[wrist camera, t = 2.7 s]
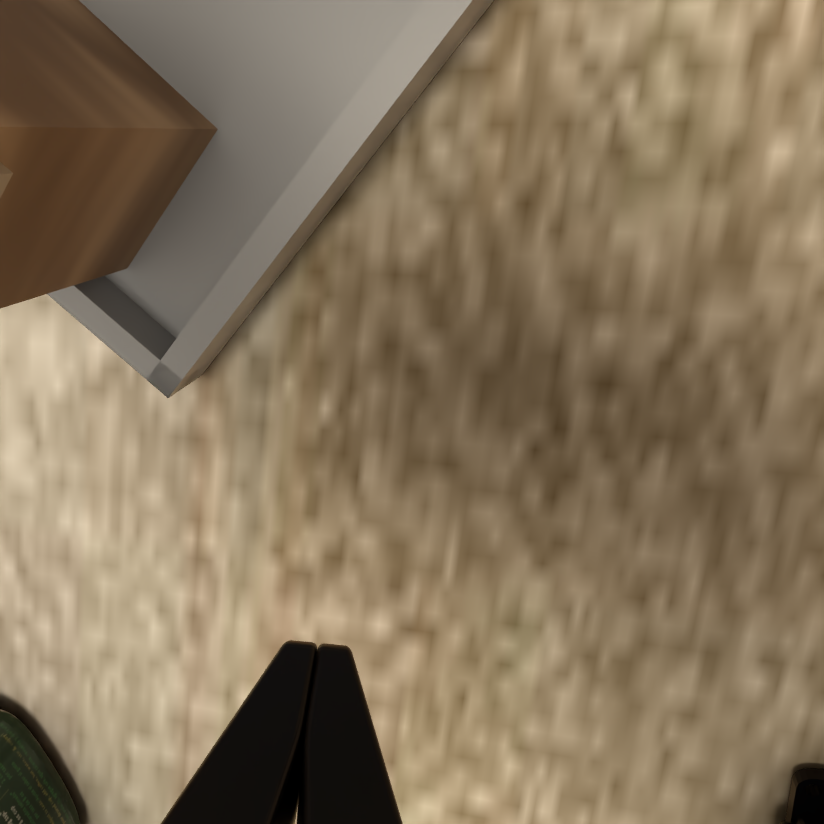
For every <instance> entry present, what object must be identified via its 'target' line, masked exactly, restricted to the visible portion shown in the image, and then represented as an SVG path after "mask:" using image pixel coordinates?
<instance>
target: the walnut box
mask: <svg viewBox="0 0 824 824" xmlns="http://www.w3.org/2000/svg"><path fill="white" fill-rule="evenodd" d="M217 130H218V129H217V128H216V127H215V126H214V125H213V124H212V123H211V122H210V121H209V120H207V119H206V118H205V117H204V116H203V115H202V114H201V113H200V112H199V111H198V110H197V109H196V108H195V107H193V106H192V105H191V104H190V103H189V102H188V101H187V100H186V99H185V98H184V97H183V96H182V95H180V94H179V93H178V92H177V91H176V90H175V89H174V88H173V87H172V86H171V85H170V84H169V83H168V82H166V81H165V80H164V79H163V78H162V77H161V76H160V75H159V74H158V73H157V72H156V71H155V70H154V69H152V68H151V67H150V66H149V65H148V64H147V63H146V62H145V61H144V60H143V59H142V58H141V57H140V56H138V55H137V54H136V53H135V52H134V51H133V50H132V49H131V48H130V47H129V46H128V45H127V44H125V43H124V42H123V41H122V40H121V39H120V38H119V37H118V36H117V35H116V34H115V33H114V32H113V31H111V30H110V29H109V28H108V27H107V26H106V25H105V24H104V23H103V22H102V21H101V20H100V19H99V18H97V17H96V16H95V15H94V14H93V13H92V12H91V11H90V10H89V9H88V8H87V7H86V6H85V5H83V4H82V3H81V2H80V1H79V0H0V308H3V307H6V306H9V305H13V304H16V303H19V302H22V301H25V300H29V299H32V298H35V297H38V296H41V295H45V294H48V293H51V292H54V291H57V290H60V289H64V288H67V287H70V286H73V285H76V284H80V283H83V282H86V281H89V280H92V279H96V278H99V277H102V276H105V275H108V274H112V273H115V272H118V271H121V270H124V269H127V268H128V266H129V265H130V263H131V262H132V260H133V259H134V257H135V256H136V254H137V253H138V251H139V250H140V248H141V247H142V245H143V243H144V242H145V240H146V239H147V237H148V236H149V234H150V233H151V231H152V230H153V228H154V227H155V225H156V223H157V222H158V220H159V219H160V217H161V216H162V214H163V213H164V211H165V210H166V208H167V207H168V205H169V203H170V202H171V200H172V199H173V197H174V196H175V194H176V193H177V191H178V190H179V188H180V187H181V185H182V184H183V182H184V180H185V179H186V177H187V176H188V174H189V173H190V171H191V170H192V168H193V167H194V165H195V164H196V162H197V160H198V159H199V157H200V156H201V154H202V153H203V151H204V150H205V148H206V147H207V145H208V144H209V142H210V140H211V139H212V137H213V136H214V134H215V133H216V131H217Z"/></svg>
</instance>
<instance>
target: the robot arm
mask: <svg viewBox="0 0 824 824" xmlns="http://www.w3.org/2000/svg"><path fill="white" fill-rule="evenodd" d="M812 784H814V785H812ZM297 807H298V813H297ZM296 813H297V824H402V820H401V817H400V813H399V810H398V807H397V803H396V800H395V797H394V793H393V790H392V786H391V783H390V780H389V776H388V773H387V769H386V766H385V763H384V759H383V756H382V753H381V749H380V746H379V742H378V739H377V736H376V732H375V729H374V726H373V722H372V719H371V715H370V712H369V709H368V705H367V702H366V698H365V695H364V692H363V688H362V685H361V682H360V678H359V675H358V671H357V668H356V665H355V661H354V658H353V654H352V652H351V650H350V648H349V647H347V646H344V645H334V644H321V645H320V646H319V647H318V650H317V646H316V644H315V643H312V642H303V641H293V640H290V641H287V642H285V643H284V644H283V645H282V647H281V648H280V649H279V651H278V652H277V654H276V655H275V657H274V658H273V660H272V661H271V663H270V664H269V666H268V667H267V669H266V670H265V671H264V673H263V674H262V676H261V677H260V679H259V680H258V682H257V683H256V685H255V686H254V688H253V689H252V691H251V692H250V694H249V695H248V696H247V698H246V699H245V701H244V702H243V704H242V705H241V707H240V708H239V710H238V711H237V713H236V714H235V716H234V717H233V718H232V720H231V721H230V723H229V724H228V726H227V727H226V729H225V730H224V732H223V733H222V735H221V736H220V738H219V739H218V740H217V742H216V743H215V745H214V746H213V748H212V749H211V751H210V752H209V754H208V755H207V757H206V758H205V760H204V761H203V763H202V764H201V765H200V767H199V768H198V770H197V771H196V773H195V774H194V776H193V777H192V779H191V780H190V782H189V783H188V785H187V786H186V787H185V789H184V790H183V792H182V793H181V795H180V796H179V798H178V799H177V801H176V802H175V804H174V805H173V807H172V808H171V809H170V811H169V812H168V814H167V815H166V817H165V818H164V820H163V821H162V823H161V824H295V819H296ZM780 824H824V770H823V769H813V768H805V769H801V770H798V771H797V772H796V773H795V774H794V775H793V778H792V783H791V789H790V795H789V801H788V807H787V813H786V819H785V822H784V821H782V822H781V823H780Z"/></svg>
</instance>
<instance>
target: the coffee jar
mask: <svg viewBox="0 0 824 824" xmlns="http://www.w3.org/2000/svg"><path fill="white" fill-rule="evenodd" d="M0 824H80V822H79V817H78V813H77V810H76V808H75V805H74V803H73V801H72V799H71V797H70V794H69V792H68V790H67V789H66V786H65V784H64V783H63V781H62V779H61V777H60V776H59V774H58V773H57V771H56V769H55V768H54V766H53V764H52V763H51V761H50V760H49V758H48V756H47V755H46V753H45V752H44V750H43V749H42V747H41V746H40V745H39V743H38V742H37V740H36V739H35V738H34V737H33V735H32V734H31V732H30V731H29V730H28V729H27V727H26V726H25V725H24V724H23V723H22V722H21V721H20V720H19V719H18V718H17V717H15V716H14V715H12V714H11V713H9V712H7V711H4V710H1V709H0Z"/></svg>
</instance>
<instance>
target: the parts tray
mask: <svg viewBox="0 0 824 824" xmlns="http://www.w3.org/2000/svg"><path fill="white" fill-rule="evenodd" d="M79 1H80V2H81V3H82V4H83V5H85V6H86V7H87V8H88V9H89V10H90V11H91V12H92V13H93V14H94V15H95V16H96V17H97V18H99V19H100V20H101V21H102V22H103V23H104V24H105V25H106V26H107V27H108V28H109V29H110V30H111V31H113V32H114V33H115V34H116V35H117V36H118V37H119V38H120V39H121V40H122V41H123V42H124V43H125V44H127V45H128V46H129V47H130V48H131V49H132V50H133V51H134V52H135V53H136V54H137V55H138V56H140V57H141V58H142V59H143V60H144V61H145V62H146V63H147V64H148V65H149V66H150V67H151V68H152V69H154V70H155V71H156V72H157V73H158V74H159V75H160V76H161V77H162V78H163V79H164V80H165V81H166V82H168V83H169V84H170V85H171V86H172V87H173V88H174V89H175V90H176V91H177V92H178V93H179V94H180V95H182V96H183V97H184V98H185V99H186V100H187V101H188V102H189V103H190V104H191V105H192V106H193V107H195V108H196V109H197V110H198V111H199V112H200V113H201V114H202V115H203V116H204V117H205V118H206V119H207V120H209V121H210V122H211V123H212V124H213V125H214V126H215V127H216V128H217V129H218V130H217V131H216V133H215V134H214V136H213V137H212V139H211V140H210V142H209V144H208V145H207V147H206V148H205V150H204V151H203V153H202V154H201V156H200V157H199V159H198V160H197V162H196V164H195V165H194V167H193V168H192V170H191V171H190V173H189V174H188V176H187V177H186V179H185V180H184V182H183V184H182V185H181V187H180V188H179V190H178V191H177V193H176V194H175V196H174V197H173V199H172V200H171V202H170V203H169V205H168V207H167V208H166V210H165V211H164V213H163V214H162V216H161V217H160V219H159V220H158V222H157V223H156V225H155V227H154V228H153V230H152V231H151V233H150V234H149V236H148V237H147V239H146V240H145V242H144V243H143V245H142V247H141V248H140V250H139V251H138V253H137V254H136V256H135V257H134V259H133V260H132V262H131V263H130V265H129V266H128V268H127V269H124V270H121V271H118V272H115V273H112V274H108V275H105V276H102V277H99V278H96V279H92V280H89V281H86V282H83V283H80V284H76V285H73V286H70V287H67V288H64V289H60V290H57V291H54V292H51V293H48V295H49V296H50V297H51V298H52V299H54V300H55V301H56V302H57V303H58V304H59V305H60V306H62V307H63V308H64V309H65V310H66V311H67V312H69V313H70V314H71V315H72V316H73V317H74V318H76V319H77V320H78V321H79V322H80V323H81V324H83V325H84V326H85V327H86V328H87V329H88V330H90V331H91V332H92V333H93V334H94V335H95V336H97V337H98V338H99V339H100V340H101V341H102V342H104V343H105V344H106V345H107V346H108V347H109V348H110V349H112V350H113V351H114V352H115V353H116V354H117V355H119V356H120V357H121V358H122V359H123V360H124V361H126V362H127V363H128V364H129V365H130V366H131V367H133V368H134V369H135V370H136V371H137V372H138V373H140V374H141V375H142V376H143V377H144V378H145V379H147V380H148V381H149V382H150V383H151V384H152V385H153V386H155V387H156V388H157V389H158V390H159V391H160V392H162V393H163V394H164V395H165V396H166V397H167V398H169V397H170V396H172V395H173V394H175V393H176V392H178V391H179V390H181V389H182V388H184V387H185V386H187V385H188V384H190V383H191V382H193V381H194V380H196V379H197V378H199V377H200V376H201V375H202V374H203V373H204V372H205V370H206V369H207V368H208V366H209V365H210V364H211V363H212V361H213V360H214V359H215V357H216V356H217V355H218V354H219V352H220V351H221V350H222V348H223V347H224V346H225V345H226V343H227V342H228V341H229V339H230V338H231V337H232V336H233V334H234V333H235V332H236V330H237V329H238V328H239V327H240V325H241V324H242V323H243V322H244V320H245V319H246V318H247V316H248V315H249V314H250V313H251V311H252V310H253V309H254V307H255V306H256V305H257V304H258V302H259V301H260V300H261V298H262V297H263V296H264V295H265V293H266V292H267V291H268V289H269V288H270V287H271V286H272V284H273V283H274V282H275V280H276V279H277V278H278V277H279V275H280V274H281V273H282V271H283V270H284V269H285V268H286V266H287V265H288V264H289V263H290V261H291V260H292V259H293V257H294V256H295V255H296V254H297V252H298V251H299V250H300V248H301V247H302V246H303V245H304V243H305V242H306V241H307V239H308V238H309V237H310V236H311V234H312V233H313V232H314V230H315V229H316V228H317V227H318V225H319V224H320V223H321V221H322V220H323V219H324V218H325V216H326V215H327V214H328V212H329V211H330V210H331V209H332V207H333V206H334V205H335V203H336V202H337V201H338V200H339V198H340V197H341V196H342V195H343V193H344V192H345V191H346V189H347V188H348V187H349V186H350V184H351V183H352V182H353V180H354V179H355V178H356V177H357V175H358V174H359V173H360V171H361V170H362V169H363V168H364V166H365V165H366V164H367V162H368V161H369V160H370V159H371V157H372V156H373V155H374V153H375V152H376V151H377V150H378V148H379V147H380V146H381V144H382V143H383V142H384V141H385V139H386V138H387V137H388V136H389V134H390V133H391V132H392V130H393V129H394V128H395V127H396V125H397V124H398V123H399V121H400V120H401V119H402V118H403V116H404V115H405V114H406V112H407V111H408V110H409V109H410V107H411V106H412V105H413V103H414V102H415V101H416V100H417V98H418V97H419V96H420V94H421V93H422V92H423V91H424V89H425V88H426V87H427V85H428V84H429V83H430V82H431V80H432V79H433V78H434V76H435V75H436V74H437V73H438V71H439V70H440V69H441V68H442V66H443V65H444V64H445V62H446V61H447V60H448V59H449V57H450V56H451V55H452V53H453V52H454V51H455V50H456V48H457V47H458V46H459V44H460V43H461V42H462V41H463V39H464V38H465V37H466V35H467V34H468V33H469V32H470V30H471V29H472V28H473V26H474V25H475V24H476V23H477V21H478V20H479V19H480V17H481V16H482V15H483V14H484V12H485V11H486V10H487V9H488V7H489V6H490V5H491V3H492V2H493V1H494V0H79Z"/></svg>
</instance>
